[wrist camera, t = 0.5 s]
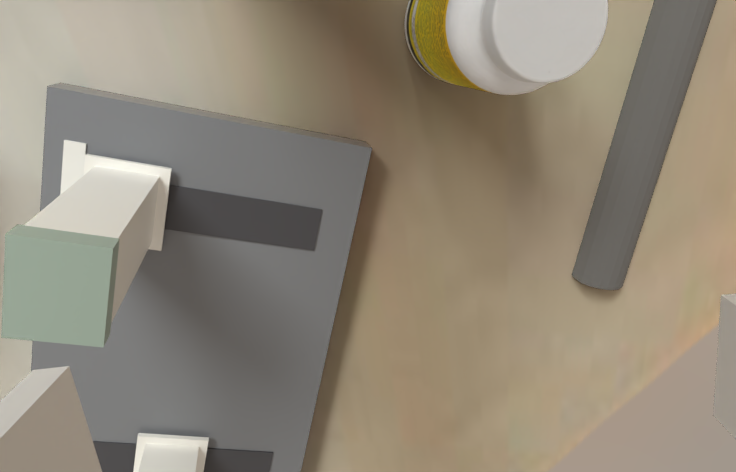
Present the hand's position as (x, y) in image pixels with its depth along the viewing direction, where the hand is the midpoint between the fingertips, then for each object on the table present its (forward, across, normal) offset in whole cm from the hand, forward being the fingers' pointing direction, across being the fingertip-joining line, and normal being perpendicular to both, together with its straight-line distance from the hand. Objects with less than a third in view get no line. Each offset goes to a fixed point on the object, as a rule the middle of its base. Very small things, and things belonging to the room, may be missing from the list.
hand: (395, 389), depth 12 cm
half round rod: (+27, +16, -1) cm, 31 cm away
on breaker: (+18, -13, +1) cm, 22 cm away
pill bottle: (+24, +5, +7) cm, 26 cm away
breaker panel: (+21, -12, -8) cm, 26 cm away
